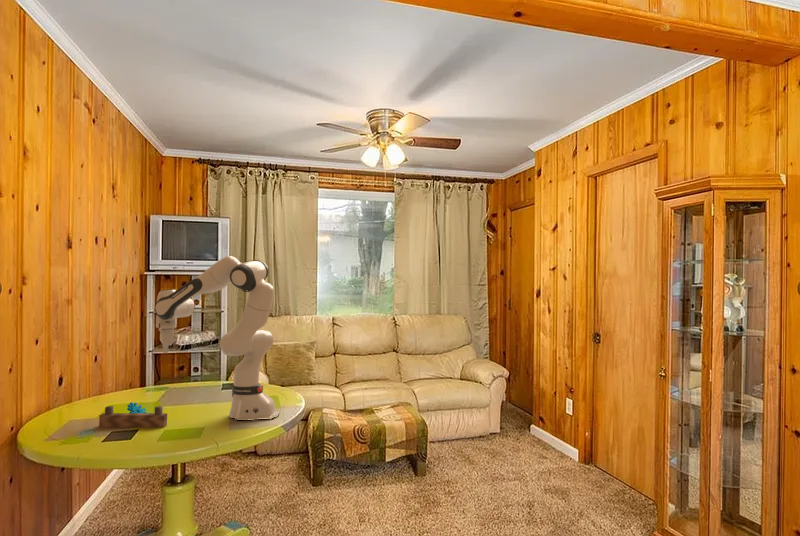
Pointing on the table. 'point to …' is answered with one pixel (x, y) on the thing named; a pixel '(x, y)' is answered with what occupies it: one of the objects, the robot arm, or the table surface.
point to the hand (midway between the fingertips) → (165, 352)
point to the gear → (135, 408)
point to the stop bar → (133, 418)
